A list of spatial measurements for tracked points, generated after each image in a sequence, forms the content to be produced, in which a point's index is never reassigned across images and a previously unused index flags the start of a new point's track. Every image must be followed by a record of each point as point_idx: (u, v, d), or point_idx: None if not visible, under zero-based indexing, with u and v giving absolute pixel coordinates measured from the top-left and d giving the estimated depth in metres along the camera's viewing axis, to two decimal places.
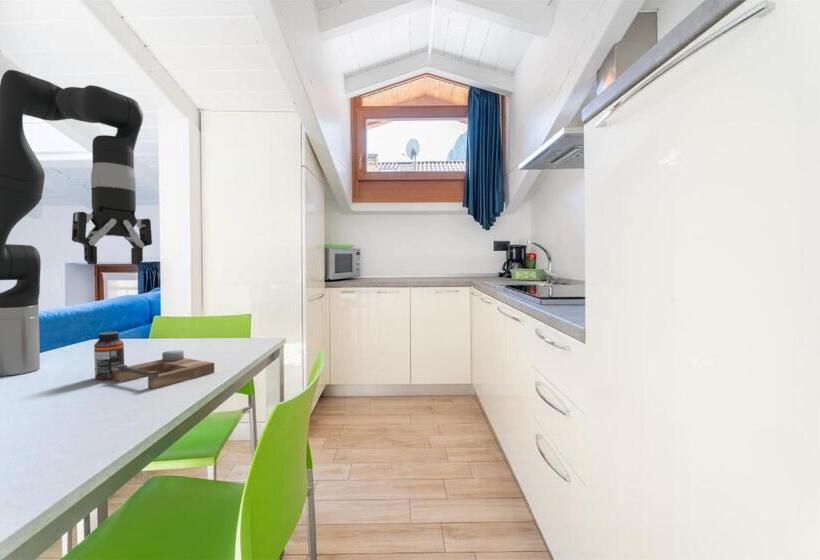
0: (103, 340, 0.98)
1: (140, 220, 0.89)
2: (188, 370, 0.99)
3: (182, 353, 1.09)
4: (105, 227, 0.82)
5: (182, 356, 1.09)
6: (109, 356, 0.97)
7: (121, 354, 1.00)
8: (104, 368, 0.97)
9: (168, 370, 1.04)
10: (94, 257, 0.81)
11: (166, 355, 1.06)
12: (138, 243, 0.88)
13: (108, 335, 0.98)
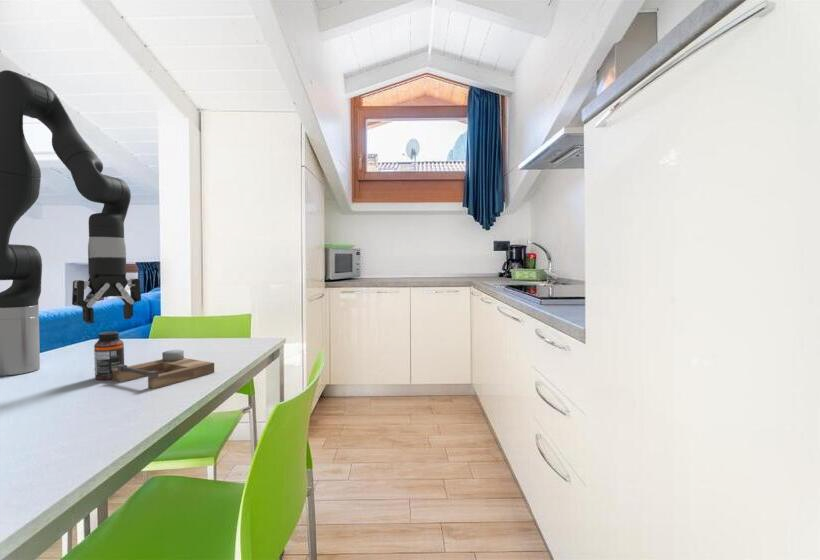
0: (103, 340, 0.98)
1: (130, 280, 1.04)
2: (188, 370, 0.99)
3: (182, 353, 1.09)
4: (100, 291, 0.96)
5: (182, 356, 1.09)
6: (109, 356, 0.97)
7: (121, 354, 1.00)
8: (104, 368, 0.97)
9: (168, 370, 1.04)
10: (91, 317, 0.95)
11: (167, 355, 1.06)
12: (129, 301, 1.03)
13: (108, 335, 0.98)
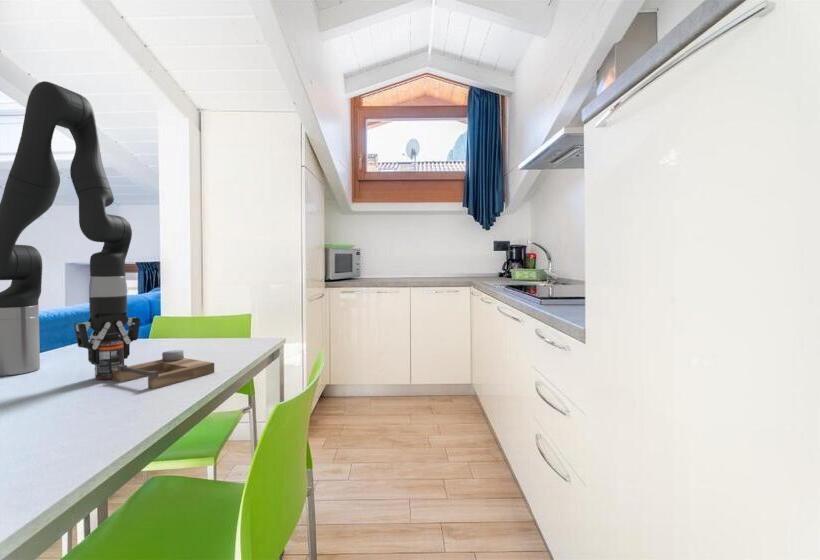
0: (103, 340, 0.98)
1: (131, 319, 1.04)
2: (188, 370, 0.99)
3: (183, 352, 1.09)
4: (102, 331, 0.97)
5: (183, 355, 1.09)
6: (109, 356, 0.98)
7: (121, 354, 1.00)
8: (104, 367, 0.97)
9: (168, 370, 1.04)
10: (96, 358, 0.96)
11: (168, 354, 1.06)
12: (125, 341, 1.02)
13: (108, 335, 0.98)
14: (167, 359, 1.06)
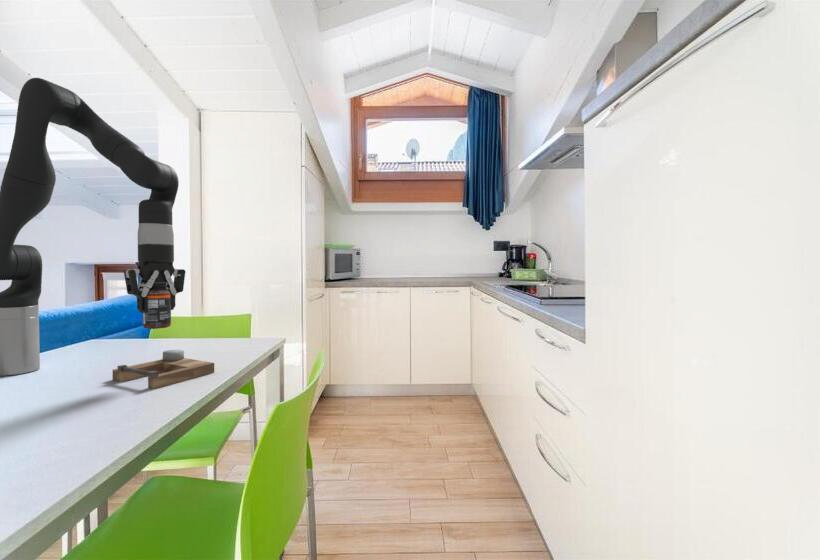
0: (151, 289, 0.96)
1: (177, 270, 1.02)
2: (188, 370, 0.99)
3: None
4: (151, 279, 0.95)
5: None
6: (158, 305, 0.96)
7: (169, 304, 0.98)
8: (153, 316, 0.96)
9: (168, 370, 1.04)
10: (145, 306, 0.95)
11: (173, 354, 1.07)
12: (172, 291, 1.01)
13: (156, 283, 0.97)
14: (172, 359, 1.06)
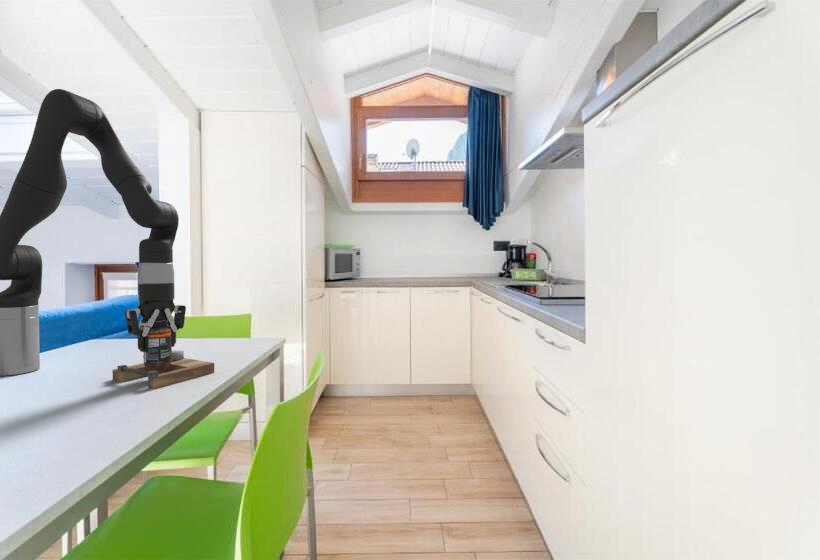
0: (152, 327, 0.97)
1: (177, 306, 1.03)
2: (188, 370, 0.99)
3: None
4: (152, 318, 0.96)
5: None
6: (159, 343, 0.96)
7: (169, 342, 0.99)
8: (153, 355, 0.96)
9: (168, 370, 1.04)
10: (146, 346, 0.95)
11: (176, 354, 1.07)
12: (172, 328, 1.01)
13: (157, 322, 0.97)
14: (174, 358, 1.07)
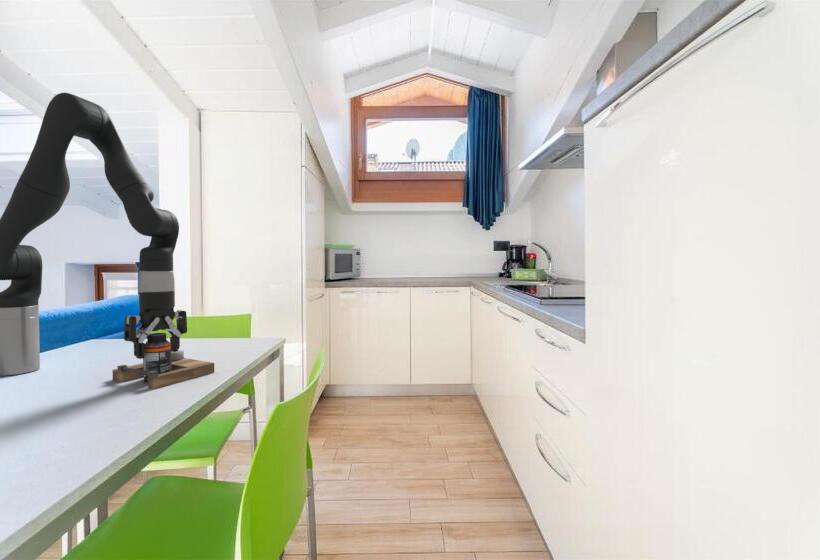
0: (152, 342, 0.97)
1: (178, 312, 1.03)
2: (188, 370, 0.99)
3: None
4: (151, 326, 0.96)
5: None
6: (158, 358, 0.96)
7: (169, 355, 0.99)
8: (153, 369, 0.96)
9: None
10: (142, 352, 0.94)
11: (178, 354, 1.07)
12: (176, 333, 1.02)
13: (157, 336, 0.97)
14: (177, 358, 1.07)
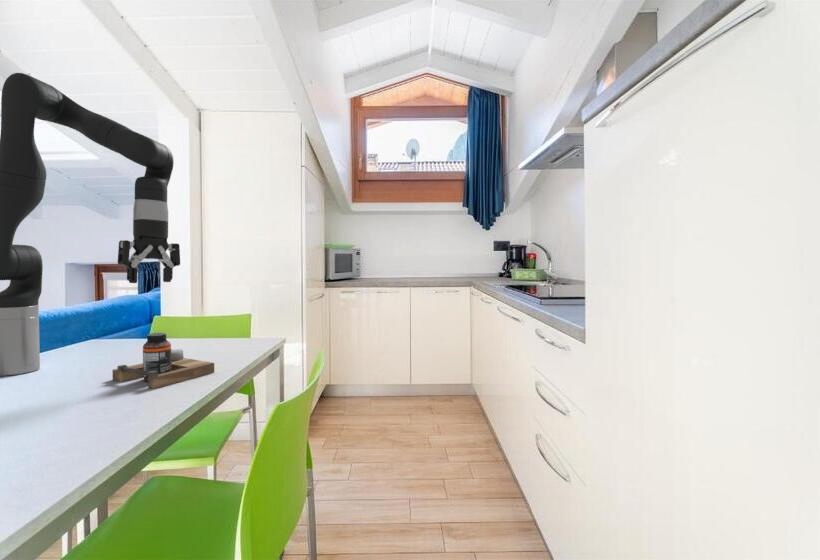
0: (152, 342, 0.97)
1: (171, 245, 1.06)
2: (188, 370, 0.99)
3: None
4: (144, 252, 0.99)
5: None
6: (158, 358, 0.96)
7: (169, 355, 0.99)
8: (153, 369, 0.96)
9: None
10: (135, 277, 0.98)
11: (180, 353, 1.08)
12: (169, 264, 1.05)
13: (157, 336, 0.97)
14: (179, 358, 1.08)
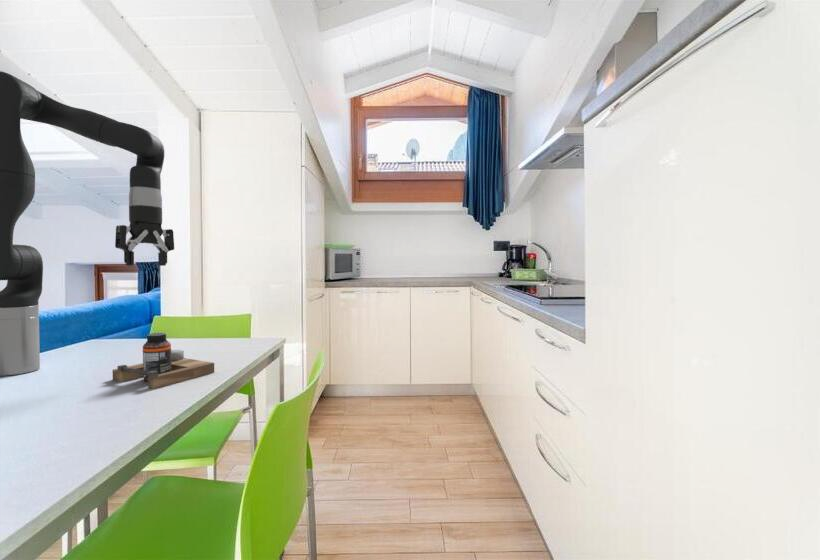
0: (152, 342, 0.97)
1: (165, 230, 1.13)
2: (188, 370, 0.99)
3: None
4: (140, 236, 1.05)
5: None
6: (158, 358, 0.96)
7: (169, 355, 0.99)
8: (153, 369, 0.96)
9: None
10: (132, 260, 1.04)
11: (182, 353, 1.09)
12: (164, 248, 1.12)
13: (157, 336, 0.97)
14: (181, 358, 1.09)
